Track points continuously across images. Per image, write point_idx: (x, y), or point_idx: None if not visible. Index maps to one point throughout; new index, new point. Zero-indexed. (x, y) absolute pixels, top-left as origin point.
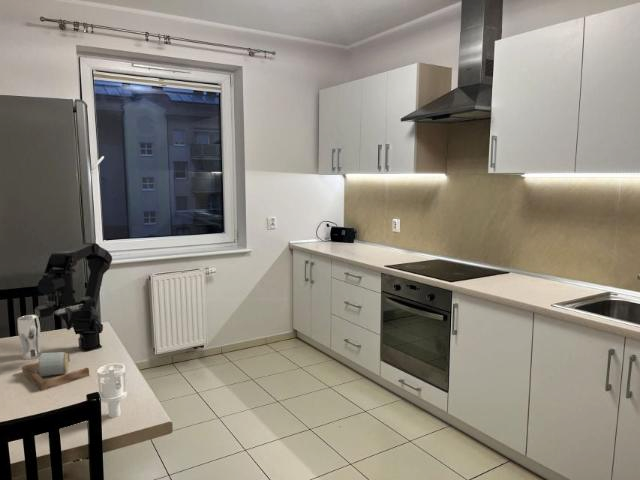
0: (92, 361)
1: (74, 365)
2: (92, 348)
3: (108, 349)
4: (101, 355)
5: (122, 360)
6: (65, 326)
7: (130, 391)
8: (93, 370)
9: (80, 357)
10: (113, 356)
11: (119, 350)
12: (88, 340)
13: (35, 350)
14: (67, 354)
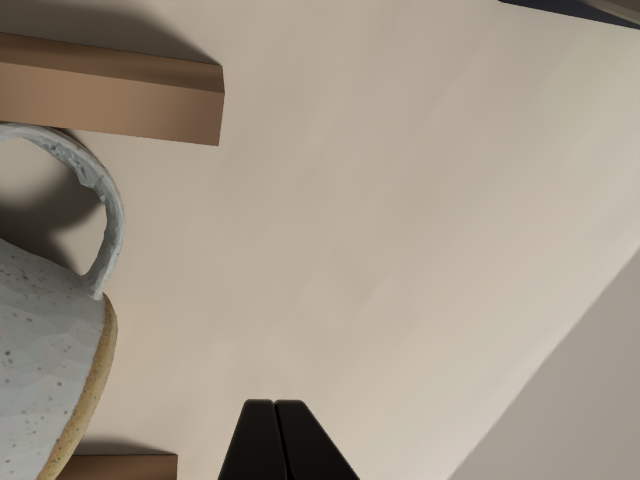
0: (348, 280)
1: (199, 242)
2: (577, 2)
3: (627, 136)
4: (482, 220)
5: (469, 413)
6: (220, 474)
7: None
8: None
9: (352, 97)
10: (503, 313)
11: (630, 239)
12: (621, 4)
13: None
14: (82, 433)
